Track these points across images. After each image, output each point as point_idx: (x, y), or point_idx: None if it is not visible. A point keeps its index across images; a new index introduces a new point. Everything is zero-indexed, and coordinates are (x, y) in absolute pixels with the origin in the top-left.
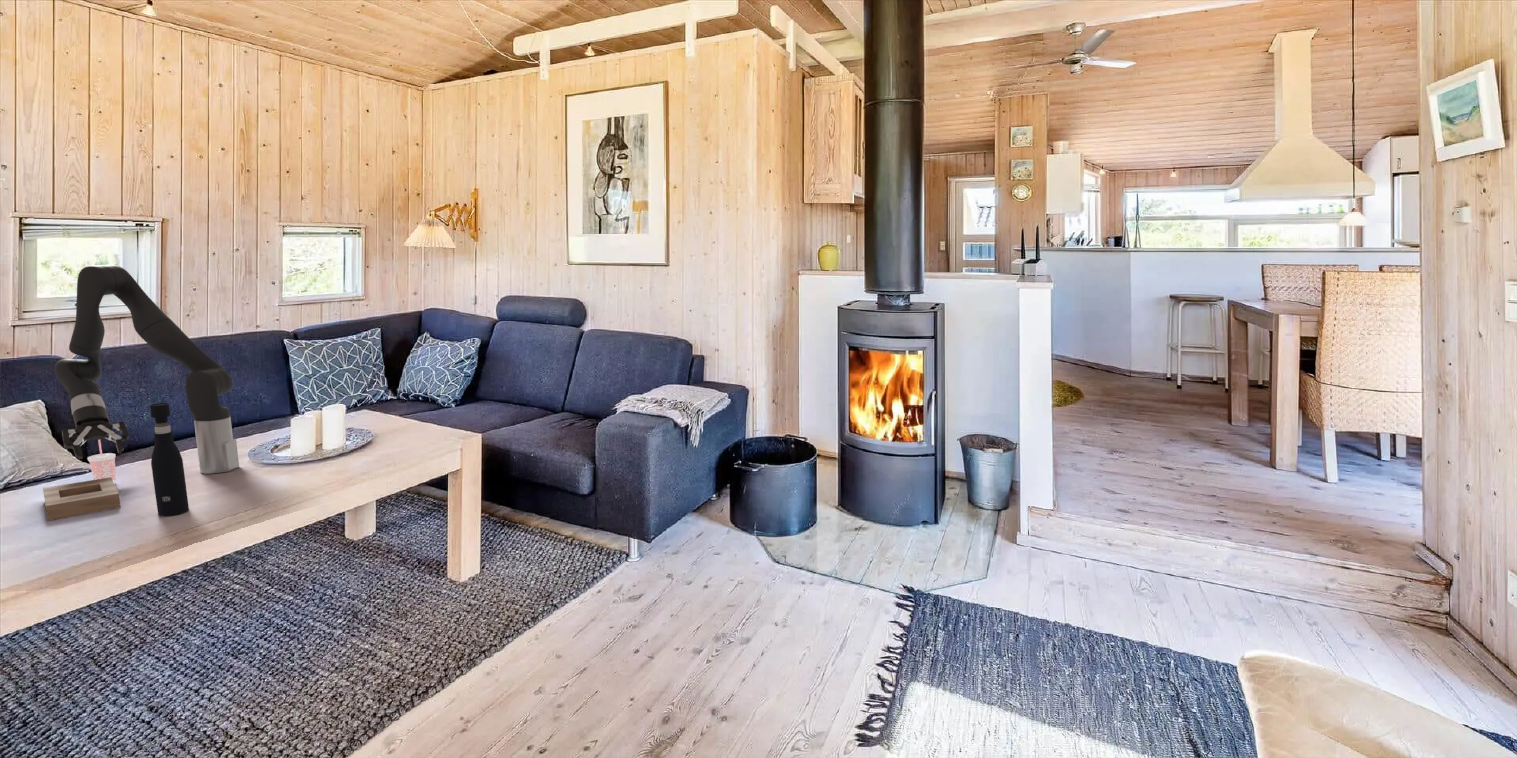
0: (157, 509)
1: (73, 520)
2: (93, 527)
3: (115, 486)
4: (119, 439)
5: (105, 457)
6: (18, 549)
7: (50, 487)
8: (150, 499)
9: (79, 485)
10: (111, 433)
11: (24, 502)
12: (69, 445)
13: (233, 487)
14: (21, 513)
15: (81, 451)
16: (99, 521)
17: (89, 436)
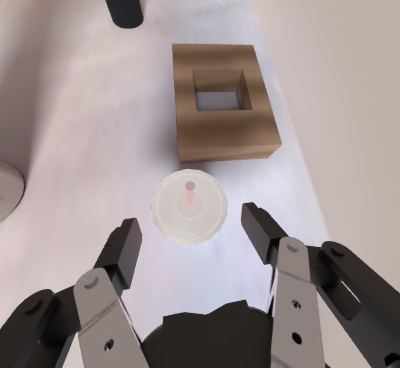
0: (140, 10)
1: None
2: (200, 23)
3: (174, 79)
4: (97, 269)
5: (180, 172)
6: (251, 9)
7: (270, 139)
8: (139, 78)
9: (226, 121)
10: (106, 315)
11: (295, 174)
12: (314, 249)
13: (33, 65)
14: (281, 116)
15: (251, 212)
16: (195, 36)
17: (248, 308)
